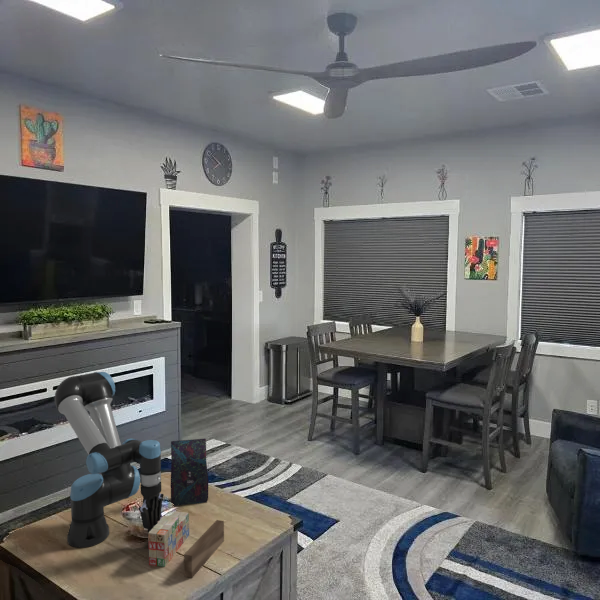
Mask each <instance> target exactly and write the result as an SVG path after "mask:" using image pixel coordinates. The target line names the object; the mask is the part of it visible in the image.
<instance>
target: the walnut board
mask: <svg viewBox="0 0 600 600" xmlns="http://www.w3.org/2000/svg"><path fill="white" fill-rule="evenodd" d="M224 541H225V522H224V520H221V519H216V520H215V521H214V522H213V523H212V524H211V525H210V526H209V527H208V528H207V530H206V531H205V532H204V533H203V534H202V535H201V536H200V537H199V538H198V539H197V540H196V541H195V542H194V543H193V544H192V545H191V546H190V547H189V548H188V549H187V551H186V552H184V553H183V565H184V566H183V568H184V571H183V572H184V577H186V578H189V579H190V578H191V579H193V578H194V577H195V575H196V574H197V573H198V572H199V571H200V570H201V568H202V567H204V565H205V564H206V562H208V560H209V559H210V558H211V557H212V556H213V555H214V553H215V552H216V551H217V550H218V549H219V547H221V545H222V544H223V543H224Z"/></svg>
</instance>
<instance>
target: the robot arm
mask: <svg viewBox="0 0 600 600" xmlns="http://www.w3.org/2000/svg"><path fill="white" fill-rule="evenodd" d="M115 393H116V385H115V382H114V379H113V378H112V376H111V375H110V374H109V373H108V372H106V371H98V372H97V371H95V372H91V373H85V374H80V375H73V376H70V377H67V378H65V379H64V380H63V381H61V382H60V383H59V385H57V387H56V389H55V393H54V404H55V407H56V409H57V411H58V412H59V413H60V414H61V415H64V417H65V418H66V420H67V422H68V423H69V425H70V427H71V428H72V430H73V431H74V434H75V435H76V437H77V439H78V440H79V442H80V443H81V445H82V447H83V448H84V451H85V452H86V453H87V454H88V455H87V456H86V460H85V464H86V467H87V470H88V472H89V473H88V474H85V475H82V476H80V477H78V478H77V479H76V480H74V481H73V483H72V484H71V485H70V494H69V495H70V496H69V497H70V509H71V511H70V512H71V522H70V525H69V528H68V532H67V535H66V537H67V538H66V539H67V544H68V546H71V547H73V548H89V547H93V546H96V545H98V544H100V543H103V542H104V541H105V540H107V538H108V537H109V535H110V527H109V524H108V523H107V519H106V517H105V512H104V511H105V509H104V508H105V507H107V506H109V505H113V504H115V503H118V502H120V501H123V500H127V499H129V498H130V497H133V496H135V495H136V494H137V493H138V491H139V489H140V495H141V496H142V497H143V498H142V505H141V506H139V507H138V511H139V513H140V516H141V522H142V527H143V529H146V530H147V534H148V533H149V532H150V531H151V529H153V527H154V526H155V525H156V524H157V523H158V522H159V521H160V520H161V518H162V517H161V515H162V506H163V499H164V497H165V495H164V493H161V492H162V469H161V468H162V458H161V457H162V454H161V453H162V451H161V443H160V441H158V440H156V439H147V440H144V441H141V440H139V439H136V438H127V439H125V440H124V441H123V442H122V443H121V440H120V435H119V432H118V429H117V425H116V422H115V418H114V417H115V416H114V414H113V410H112V406H111V403H112V402H113V397H114V396H115ZM88 411H89V412H88ZM132 463H136V464H138V465H139V469H137V467H136V466H135V465H131V464H132ZM147 540H148V541H149V538H148V537H147ZM148 541H147V542H148Z"/></svg>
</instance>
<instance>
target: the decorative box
mask: <svg viewBox="0 0 600 600" xmlns="http://www.w3.org/2000/svg"><path fill="white" fill-rule="evenodd" d="M170 452H171V453H170V455H171V457H170V458H171V459H170V461H171V463H170V464H171V465H170V466H171V468H170V503H171V502H172V503H173V504H174V505H175V506H174V507H177V506H187V505H194V504H196V505H197V504H204V503H208V500H209V475H208V474H209V473H208V465H207V463H208V462H207V438H195V439H183V440H172V441H170Z"/></svg>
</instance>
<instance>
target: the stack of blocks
mask: <svg viewBox="0 0 600 600" xmlns="http://www.w3.org/2000/svg"><path fill="white" fill-rule="evenodd" d="M189 513H190V512H186V511H185V512H184V511H183V512H182V511H173V512H172V514H171V515H170V516H169V515H163V516H162V517H161V518H160V521H158V523H157V524H156V525H155V526H154V527H153V529H151V531H150V532H149V533H148V532H147V539H148V538H149V541H147V542H148V565H149V566H155V567H163V568H165V567H166V566H167V565H169V562H170V561H171V560H172V559H173V557H175V554H177V552H178V551H179V549H180V548H181V546H183V543H185V542H186V540H187V539H188V537H189V536H190V519H189V518H190V516H189V515H190V514H189Z"/></svg>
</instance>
